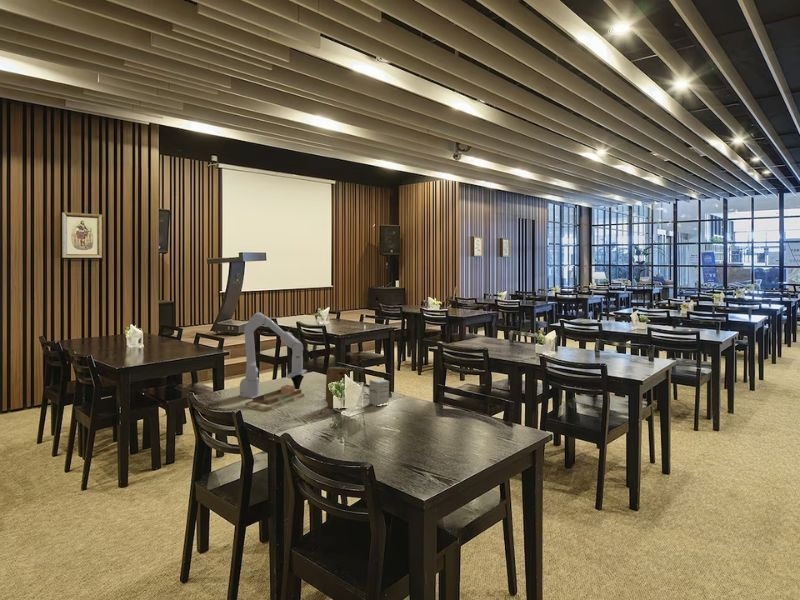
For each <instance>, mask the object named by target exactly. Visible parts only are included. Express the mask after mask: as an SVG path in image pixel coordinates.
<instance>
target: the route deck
mask: <svg viewBox="0 0 800 600" xmlns="http://www.w3.org/2000/svg"><path fill="white" fill-rule="evenodd" d="M303 397H304V398H305V393H302V389H300V388H299V389H295V391H294V392H291V393H288V394H285V395H281V388H280V389H277V390H273V391H270V392H268V393H264V394H262V395H261V396H258V397H255V398H252V400H250V401H247V402H245V404H244V406H246V407H245V408H248V407H251V408H250V409H253V408H256V409H255V410H259V409H261V410H260V411H264V410H266V411H265V412H269V410H270V411H272V409H273V410H276V409H278V408H280V406H281V407H284V406H286V405H287V404H291V403H293V401H294V402H297V401H298V399H299V400H301V399H300V398H302V399H304V398H303ZM285 404H286V405H285ZM277 407H278V408H277Z"/></svg>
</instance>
